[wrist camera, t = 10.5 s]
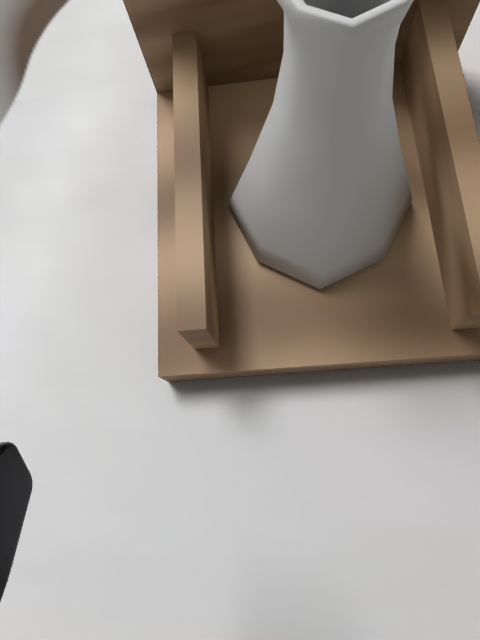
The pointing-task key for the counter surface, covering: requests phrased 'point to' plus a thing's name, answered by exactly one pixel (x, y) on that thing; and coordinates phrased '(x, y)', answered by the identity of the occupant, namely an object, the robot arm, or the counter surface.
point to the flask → (328, 145)
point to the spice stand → (229, 164)
